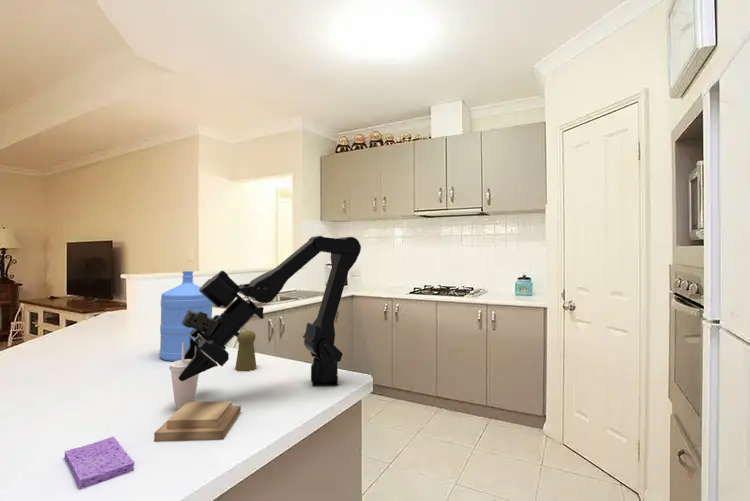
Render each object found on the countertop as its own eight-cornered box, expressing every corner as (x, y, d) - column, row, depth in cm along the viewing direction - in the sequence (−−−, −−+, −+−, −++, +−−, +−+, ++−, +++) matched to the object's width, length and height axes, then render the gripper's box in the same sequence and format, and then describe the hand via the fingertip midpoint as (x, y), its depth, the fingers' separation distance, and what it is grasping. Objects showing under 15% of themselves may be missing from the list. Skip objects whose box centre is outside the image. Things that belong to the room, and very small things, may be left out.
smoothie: (175, 401, 88) (177, 340, 89) (205, 401, 89) (206, 339, 89) (162, 413, 82) (164, 346, 82) (194, 412, 82) (195, 346, 83)
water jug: (198, 362, 121) (200, 272, 122) (149, 361, 122) (150, 272, 122) (219, 350, 137) (220, 270, 137) (175, 349, 137) (176, 270, 138)
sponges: (79, 493, 55) (79, 479, 55) (63, 460, 64) (63, 449, 64) (135, 473, 60) (135, 461, 60) (114, 445, 69) (114, 435, 69)
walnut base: (240, 412, 82) (240, 398, 83) (223, 439, 71) (223, 422, 71) (182, 414, 82) (182, 399, 82) (154, 441, 70) (154, 424, 70)
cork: (250, 372, 111) (250, 333, 111) (230, 370, 112) (231, 332, 113) (260, 366, 117) (260, 329, 117) (242, 365, 118) (242, 329, 119)
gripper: (200, 293, 96) (147, 343, 90) (212, 301, 80) (150, 362, 74) (232, 323, 100) (184, 372, 94) (251, 336, 84) (194, 397, 78)
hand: (178, 375), depth 85 cm, fingers open, 7 cm apart
